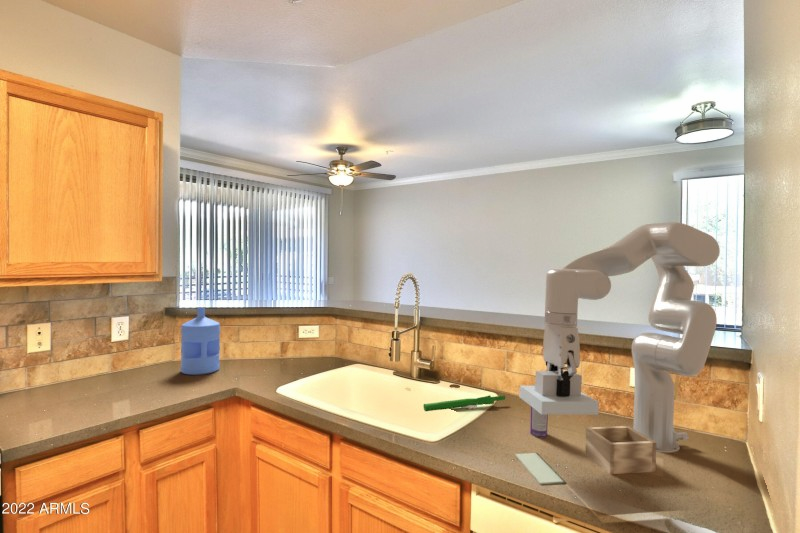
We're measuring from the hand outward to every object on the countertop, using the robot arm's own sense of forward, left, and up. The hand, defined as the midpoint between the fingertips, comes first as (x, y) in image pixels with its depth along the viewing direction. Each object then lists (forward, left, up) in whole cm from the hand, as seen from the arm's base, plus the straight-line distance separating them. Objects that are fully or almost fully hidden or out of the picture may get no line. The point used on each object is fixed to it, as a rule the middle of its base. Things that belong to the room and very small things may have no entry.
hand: (558, 392), depth 102 cm
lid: (0, 0, -3) cm, 3 cm away
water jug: (+116, -97, -19) cm, 153 cm away
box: (-16, +1, -19) cm, 25 cm away
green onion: (+10, -43, -19) cm, 48 cm away
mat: (0, 0, -19) cm, 19 cm away
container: (-4, -17, -19) cm, 26 cm away
